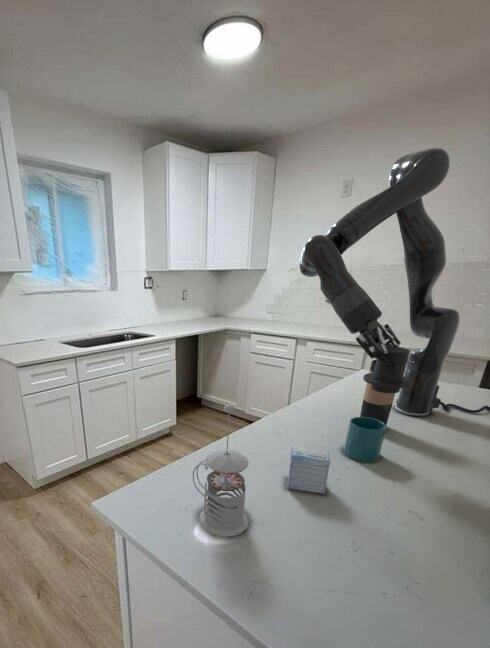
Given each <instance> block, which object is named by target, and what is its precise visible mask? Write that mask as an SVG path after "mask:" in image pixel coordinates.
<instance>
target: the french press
mask: <svg viewBox="0 0 490 648" xmlns="http://www.w3.org/2000/svg"><path fill="white" fill-rule="evenodd" d="M223 412H225V413H227V414H228V416H227V434H226V435H227V436H226V449H217V450H214V451H212V452H210V453H208V454H207V455H206V456H205V458H204V459H203V460H201V461H200V462H199V463H198V464H197V465H195V467H194V468H193V470H192V482H193V485H194V487H195V489H196V490H197V491H198V492H199V493H200V494H201V495H202V496H203V497H204V501H203V502H204V503H203V504H204V506H203V507H204V508H203V510H202V511H201V512H200V515H199V524H200V525H201V527H202V528H203V529H204V530H205V531H206V532H209V533H210V534H211V535H216V536H219V537H223V538H224V537H225V538H226V537H235V536H237V535H241V534H243V532H244V531H246V529H248V525H249V519H248V516H247V515H246V514H245V503H246V484H245V482H246V480H245V477H244V476H243V474H241V473H242V472H243V471H245V470H246V469H247V468H248V467H249V463H250V461H249V459H248V457H246V456H245V455H244V454H242V453H241V452H238V451H237V450H233V449H229V438H230V436H229V435H230V416H231V414H232V413H235V406H234V405H233V404H230V403H228V404H226V405H224V406H223ZM204 462H205V463H204ZM202 465H204V467H205V470H208V469H209V468H210V470H212V471H211V472H210V473H208V474H207V477H206V482H205V484H204V485H203V484H202V483H201V481H200V479H199V467H200V466H202ZM195 471H196V479H197V481H198V484H199V485H200V486H201V488H202V489H204V493H203V492H202V491H201V490H200V489H199V488H198V487H197V485H196V482H195ZM221 491H222V492H221ZM219 492H220V493H219ZM231 492H232V493H231ZM222 496H224V497H222ZM227 496H229V497H227Z"/></svg>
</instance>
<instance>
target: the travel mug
mask: <svg viewBox="0 0 490 648" xmlns="http://www.w3.org/2000/svg"><path fill="white" fill-rule="evenodd" d="M376 361H377V359H372V361H371V363H370V367H369V372H368V373H374V370H375V365H376ZM395 396H396V393H382V392H377V391H375V390H373V389H371V384H370V383H367V382H366V384H365V389H364V393H363V398H362V403H361V410H360V416H359V417H369V418H373V419H377V420H379V421H382V422H383V423H385V424H386V426H387V424H388V421H389V417H390V414H391V410H392V407H393V403H394V399H395Z"/></svg>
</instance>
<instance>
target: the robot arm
mask: <svg viewBox="0 0 490 648" xmlns="http://www.w3.org/2000/svg"><path fill="white" fill-rule="evenodd" d="M450 164H451V159H450V154H449V153H448V152H447V150H445V149H443V148H442V147H432V148H427V149H423V150H419V151H415V152H411V153H409V154H405V155H402V156H401V157H399V158H398V159H396V160H395V162H394V163H393V165H392V167H391V169H390V172H389V175H388V188H386V189H384V190H383V191H381V192H379V193H377V194H375V195H373V196H372V197H369V198H368V199H366V200H364V201H363V202H361V203H360V204H358V205H356V206H354V208H352V209H351V210H349V211H348V212H347V213H346V214H344V215H343V216H342V217H340V218H339V219H338V220H337V221H335V222H334V223H333V224H332V226H331V227H330V228H329V229H328V231H327V232H326V234H325V235H324V234H315V235H313V236H311V237H310V238H309V239H308V240H307V241H306V242H305V244H304V246H303V248H302V251H301V254H300V257H299V260H298V270H299V271H300V273H301V274H302V275H303V276H305V277H309V278H313V277H314V278H315V277H317V276H318V278H319V289H320V291H321V293H322V294H323V296H324V297H325V298H326V300H327V301H328V302H329V304H330V306H331V307H332V309H333V311H334V312H335V314H336V315H337V317H338V318H339V319H340V320H341V322H342V323H343V325H344V326H345V327H346V329H347V330H348V331H349V333H350V334H351V335H355V334H357V333H359V335H358V336H356V337H355V341H356V342H357V343H358V344H359V346H360V347H361V348H362V349H363V350H364V352H365V353H366V354H367V355H368V356H369V357H370V359H372V360H374V359H375V360H377V359H379V361H380V362H381V364H382V365H383V366H384V368H385V369H386V370H387V371H388V372H391V371H392V370H394V369H396V368H397V367H398V365H397V364H396V362H395V361H394V360H393V358H392V357H391V356H390V355H389V353H388V352H387V350H386V348H385V347H400V345H401V344H402V343H401V341H400V340H399V338H398V337H397V335H396V334H395V332H394V331H393V329H392V328H391V327H390V325H389V324H388V323H385V324H384V325H383V324H381V323H380V322H379V321H378V319H380V318H381V317H382V315H383V313H382V311H381V309H380V308H379V307H378V306H377V304H376V303H375V302H374V300H373V298H371V297H370V295H369V294H368V293H367V291H366V290H365V289H364V288H363V287H362V286H361V285H360V284H359V283H358V282H357V280H356V279H355V278H354V276H353V275H352V274H351V273H350V271H348V269H347V266H346V263H345V261H344V258H343V256H342V255H343V254H344V253H345V252H347V250H349V249H350V248H351V247H352V246H353V245H355V244H356V243H358V242H359V241H360V240H361V239H363V238H364V237H365V236H367V235H368V234H369V233H370V232H371V231H372V230H374V229H375V228H377V227H378V226H379V225H380V224H382V223H383V222H385V221H386V220H388V219H390V218H391V217H392V216H393V215H396V217H397V218H396V219H397V223H398V228H399V234H400V240H401V245H402V246H401V247H402V255H403V262H404V268H405V273H406V280H407V287H408V288H407V289H408V290H407V291H408V299H409V327H410V331H411V332H412V334H413V335H414V336H415V337H419V338H422V339H423V338H424V339H428V342H427V344H426V346H424V347H418V348H413V349H411V350H410V352H409V356H408V360H407V364H406V368H405V372H404V377H407V378H409V379H411V380H412V385H411V386H409V387H406V388H400V391H399V392H398V393H399V394H398V398H397V399H396V405H395V410H396V411H397V412H399V413H400V414H403V415H407V416H410V417H411V416H412V417H427V416H429V414H430V415H431V414H432V412H433V409H439V408H440V406H441V407H442V409H443V410H444V411H448V410H449V407H452V408H455V409H457V410H461V411H463V412H466V413H469V414H470V413H471V414H477V413H482V412H483V411H484V410H487V411H490V406H489V405H483V406H482V407H481V408H478V409H468V408H465V407H463V406H460V405H458V404H454V403H446V404H445V402H443V401H442V398H438V397H437V396H438V393H439V389H440V385H439V380H440V376H441V373H442V369H443V367H444V364H445V363H444V362H445V360H446V358H447V356H448V355H449V353H450V350H451V348H452V345H453V342H454V340H455V336H456V334H457V332H458V330H459V329H458V328H459V326H460V321H461V319H460V318H461V317H460V313H459V311H458V310H456V309H454V308H450V307H449V308H447V307H441V306H440V307H439V306H434V305H435V304H434V302H433V290H434V287H435V285H436V283H437V282H438V280H439V278H440V277H441V275H442V273H443V271H444V269H445V267H446V264H447V251H446V242H445V238H444V235H443V233H442V231H441V230H440V228H439V227H438V225H437V224H436V223H435V221H434V220H432V217H430V216H429V214H428V213H427V211H426V208H425V206H424V201H423V197H424V196H427V195H428V194H429V193H431V192H433V191H434V190H436V189H437V188H439V186H440V185H441V184H442V183H443V182H444V181H445V179H446V177H447V175H448V173H449V171H450V166H451V165H450ZM400 348H401V347H400ZM387 353H388V354H387Z"/></svg>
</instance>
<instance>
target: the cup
mask: <svg viewBox="0 0 490 648" xmlns="http://www.w3.org/2000/svg"><path fill="white" fill-rule="evenodd" d="M387 427H388V426H387V425H386V424H385V423H383V422H382V421H379V420H377V419H373V418H369V417H360V416H354V417H352V418H350V419H349V422H348V427H347V432H346V436H345V442H344V446H343V453H344V455H345V456H346V457H348V458H350V460H351V459H352V460H354V461H357V462H362V463H373V462H377V461H378V460H379V458H380V454H381V451H382V446H383V443H384V439H385V435H386V431H387Z"/></svg>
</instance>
